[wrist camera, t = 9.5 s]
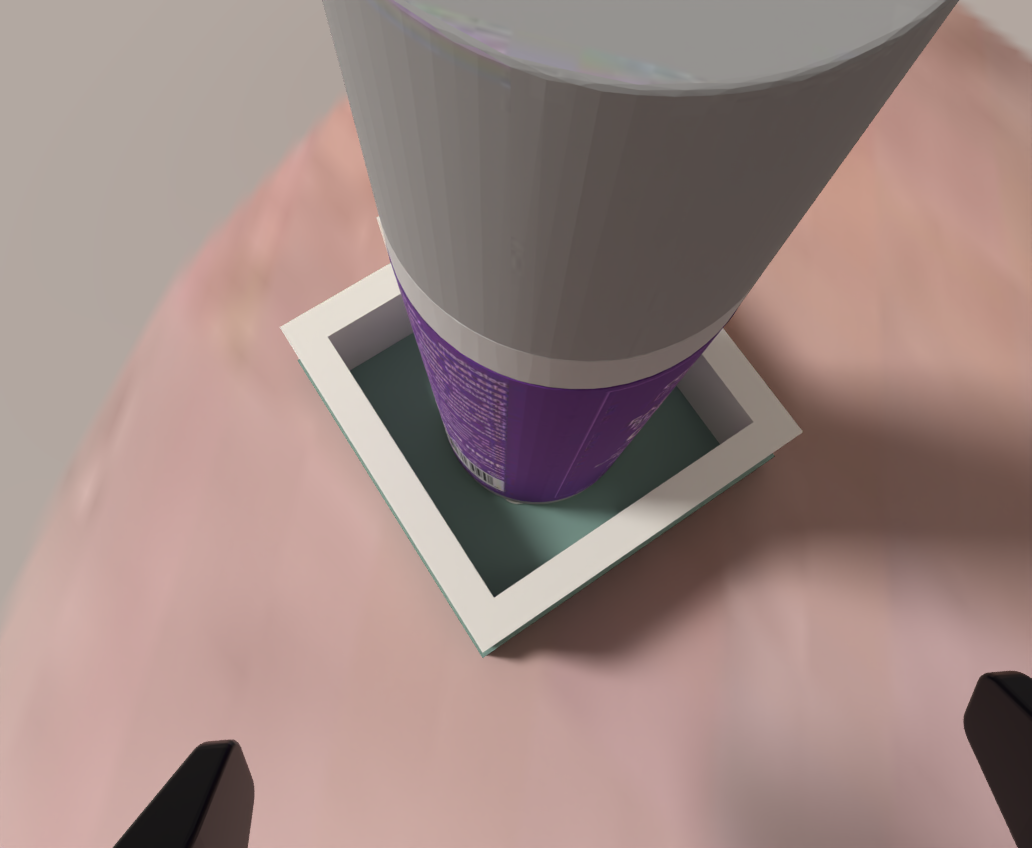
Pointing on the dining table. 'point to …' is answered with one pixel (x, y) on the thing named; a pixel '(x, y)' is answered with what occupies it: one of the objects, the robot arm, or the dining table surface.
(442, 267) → the container
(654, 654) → the dining table surface
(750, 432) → the board
